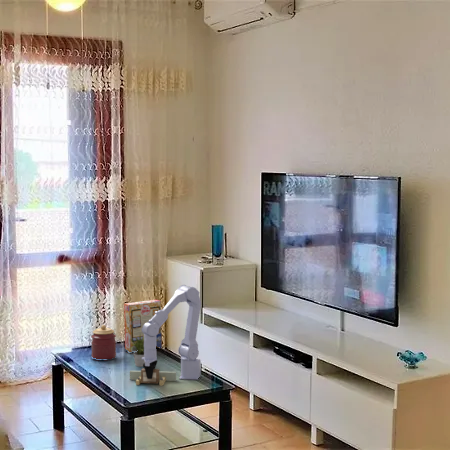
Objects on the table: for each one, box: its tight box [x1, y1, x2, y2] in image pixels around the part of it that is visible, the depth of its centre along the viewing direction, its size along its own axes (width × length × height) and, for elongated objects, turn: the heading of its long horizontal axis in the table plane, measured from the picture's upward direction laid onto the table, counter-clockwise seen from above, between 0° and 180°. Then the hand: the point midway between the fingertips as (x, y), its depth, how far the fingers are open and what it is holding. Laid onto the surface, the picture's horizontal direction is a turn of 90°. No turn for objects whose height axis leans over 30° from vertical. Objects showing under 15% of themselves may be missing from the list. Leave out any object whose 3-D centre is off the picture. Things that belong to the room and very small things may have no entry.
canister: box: [90, 324, 117, 360], centre depth 382 cm, size 13×13×18 cm
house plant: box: [129, 334, 145, 368], centre depth 366 cm, size 14×14×16 cm
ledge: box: [129, 370, 177, 386], centre depth 337 cm, size 22×10×4 cm, turn 85°
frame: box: [140, 368, 160, 384], centre depth 335 cm, size 8×3×6 cm, turn 85°
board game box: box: [123, 299, 163, 352], centre depth 399 cm, size 20×6×27 cm, turn 126°
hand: (150, 377), depth 335 cm, fingers closed on frame, 3 cm apart
